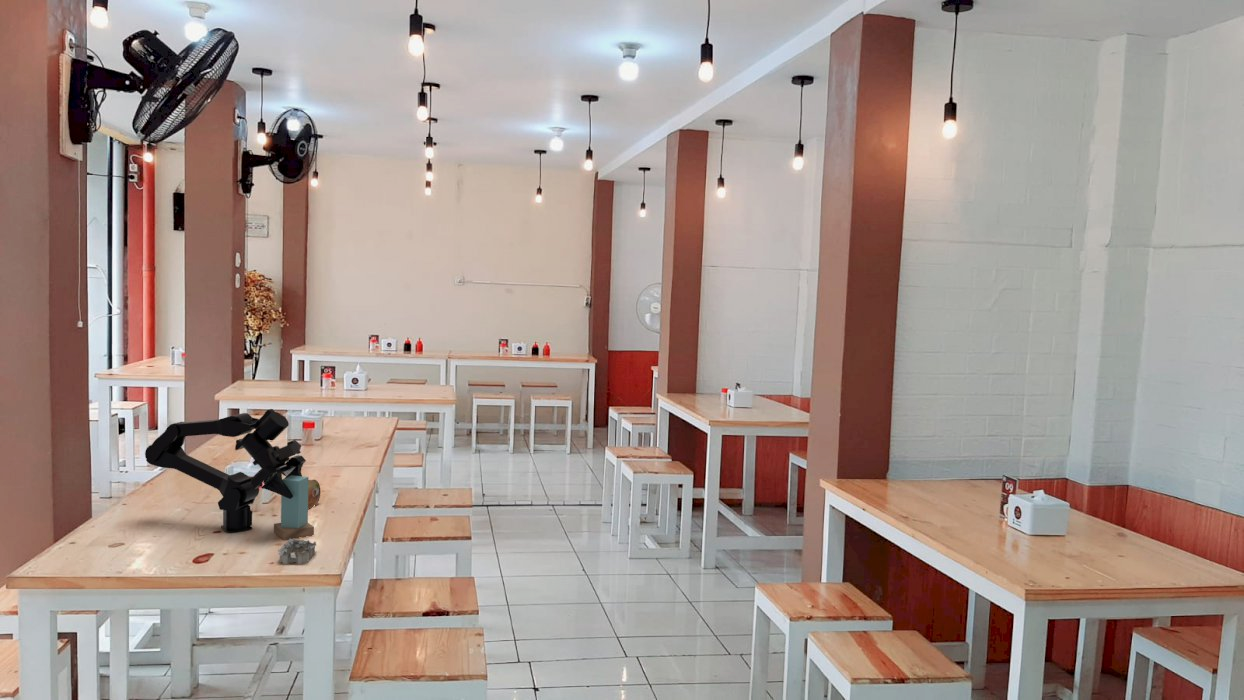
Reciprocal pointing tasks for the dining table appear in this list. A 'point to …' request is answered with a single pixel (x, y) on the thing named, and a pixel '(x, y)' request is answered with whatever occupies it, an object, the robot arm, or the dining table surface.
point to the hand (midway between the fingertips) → (299, 494)
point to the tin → (313, 493)
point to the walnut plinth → (293, 531)
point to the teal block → (295, 503)
